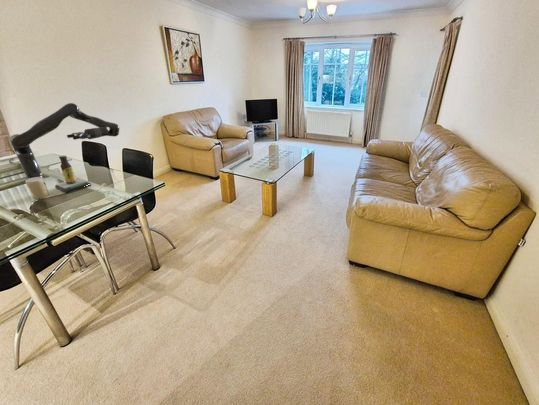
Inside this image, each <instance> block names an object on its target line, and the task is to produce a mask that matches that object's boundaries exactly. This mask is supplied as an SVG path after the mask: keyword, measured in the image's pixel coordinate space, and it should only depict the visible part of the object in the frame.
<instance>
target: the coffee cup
mask: <svg viewBox="0 0 539 405" xmlns="http://www.w3.org/2000/svg"><path fill="white" fill-rule="evenodd" d="M24 183H25V184H26V186H27V187H28V189H29V191H30V193H31V194H32V196H33V198H34V199H42V198H46V197H48V196H49V194H50V193H49V190H48V187H47V184H46V181H45V178H44V176H43V177H34V178H30V179H26V180H25V182H24Z"/></svg>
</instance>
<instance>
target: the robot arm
mask: <svg viewBox="0 0 539 405" xmlns="http://www.w3.org/2000/svg"><path fill="white" fill-rule="evenodd" d="M69 117H70V118H72V119H75V120H77V121H82V122H84V123H88V124H90V125H93V126H95V127H92V128H86V129H84V131H79V132H72V133H70V134H67V135H66V137H67V138H68V139H71V138H72V139H73V140H74V141H75V140H85V139H87V140H93V139H94V140H95V139H99V138H102V137H103V138H104V137H118V136H119V134H120V125H119V124H117V123H115V122H110V121H106V120H104V119H101V118H99V117H96V116H93V115H88V114H86V113H85V112H83V111H82V110H81V109H80V108H79V106H78V105H77V104H76V103H74V102H69V103H66V104H64V105H63V106H62V107H60V108H59V109H58V110H56V111H55V112H53V113H51V114H50V115H48V116H46V117H44V118H42V119H41V120H38V121H37V122H36V123H35V124H34V125H32V126H31V128H29V129H28V130H26V131H25V132H22V133H16V134H12V135H11V136H10V138H9V142H10V144H11V147H12V149H13V150H14V153H15V155H16V157H17V160H18V161H19V164H21V165H20V166H21V167H22V169H23V170H22V171H23V172H24V175H25V176H26V178H27V179H30V178H34V177H43V178H44V174H43V173H42V170H41V168H40V166H39V163H38V161H37V158H36V157H35V154H34V152H33V149H32V147H31V144H32V143H33V142H35V141H36V140H38V139H40V138H42V137H44V136H46V135H47V134H50V133H51V132H53V131H54V130H56V129H57V128H58V127H59V126H60V125H61V124H62V122H63V121H64V120H65V119H66V118H69ZM11 159H12V160H11ZM13 160H14V159H13V158H10V159H9V160H8V162H9V163H10V164H13V163H14V161H13ZM12 161H13V162H12ZM27 179H26V180H27Z"/></svg>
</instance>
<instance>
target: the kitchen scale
mask: <svg viewBox="0 0 539 405" xmlns="http://www.w3.org/2000/svg"><path fill="white" fill-rule="evenodd" d="M75 178H76V177H75ZM88 184H91V185H88ZM86 185H88V186H86ZM84 186H85V187H84ZM88 187H92V183H91V182H89V181H86V180H84V179H81V178H79V177H77V178H76V183H73V184H67V183H66V181H63V182H60V183H56V184H55V185H54V188H55V189H56V190H59V191H61V192H63V193H65V194H70V193H73V192H76V191H79V190H82V189H86V188H88Z"/></svg>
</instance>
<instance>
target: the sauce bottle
mask: <svg viewBox="0 0 539 405" xmlns="http://www.w3.org/2000/svg"><path fill="white" fill-rule="evenodd" d="M58 158H59V160H60V169H61V173H62V176H63V179H64V182H66V183H67V184H73V183H76V175H75V171H74V168H73V166H72V165H71V163H70V162H69V160H68V157H67V155H65V154H64V155H59V156H58Z"/></svg>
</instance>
